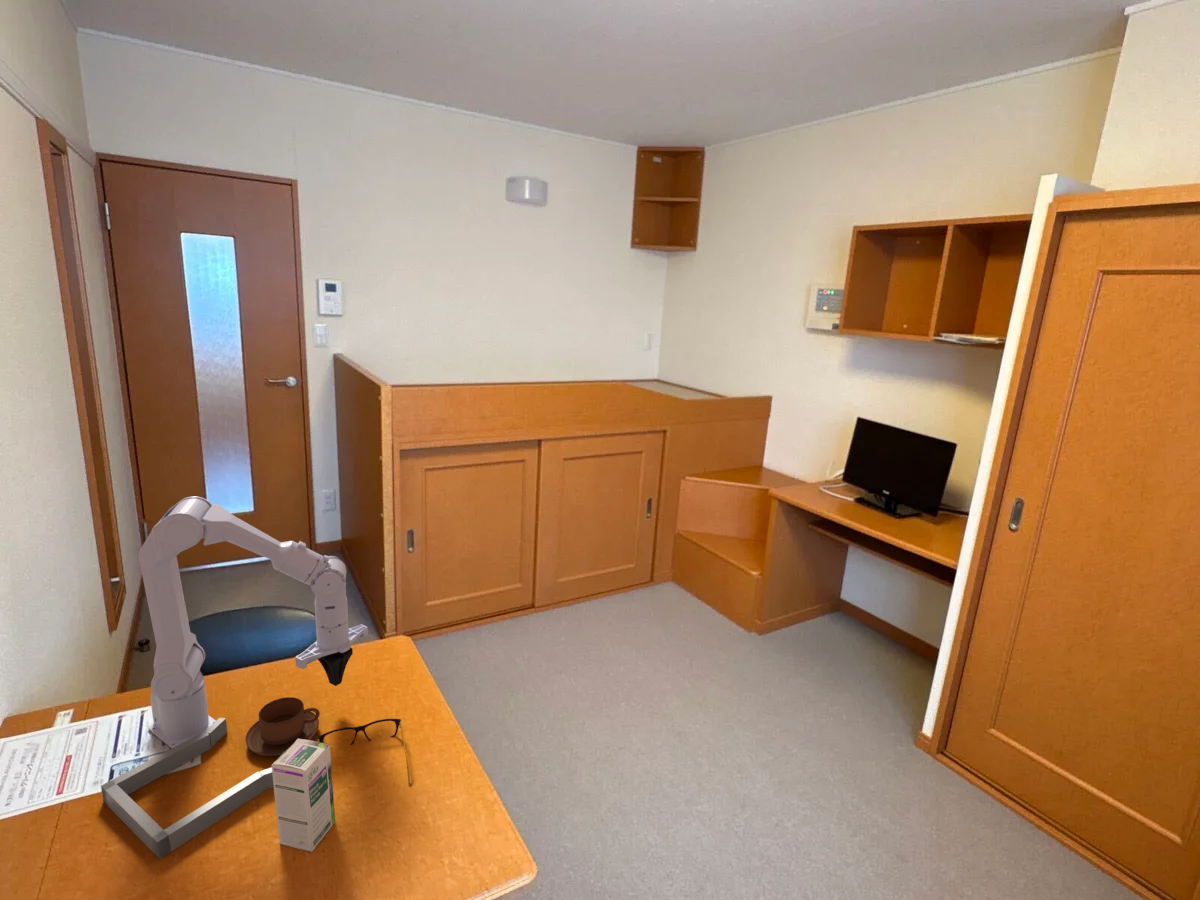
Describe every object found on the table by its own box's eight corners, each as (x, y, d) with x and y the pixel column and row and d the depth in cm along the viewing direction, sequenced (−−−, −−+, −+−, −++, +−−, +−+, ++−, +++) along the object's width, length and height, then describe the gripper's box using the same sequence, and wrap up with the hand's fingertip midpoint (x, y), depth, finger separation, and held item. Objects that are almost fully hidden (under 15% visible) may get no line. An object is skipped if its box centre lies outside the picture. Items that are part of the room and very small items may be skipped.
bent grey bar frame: (99, 797, 98) (96, 781, 98) (224, 729, 115) (222, 716, 114) (164, 864, 88) (162, 847, 87) (292, 779, 104) (290, 765, 104)
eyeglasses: (400, 732, 117) (400, 714, 116) (410, 788, 105) (410, 768, 104) (318, 751, 112) (317, 732, 111) (318, 812, 99) (317, 791, 98)
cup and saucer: (305, 708, 122) (303, 681, 120) (329, 741, 114) (328, 712, 112) (237, 736, 114) (234, 707, 112) (258, 773, 105) (255, 742, 104)
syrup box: (312, 853, 91) (307, 771, 88) (277, 844, 92) (270, 762, 89) (336, 822, 97) (331, 743, 93) (302, 814, 98) (297, 736, 94)
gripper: (310, 644, 110) (314, 710, 114) (377, 612, 122) (379, 672, 126) (286, 631, 114) (291, 695, 117) (353, 601, 126) (356, 660, 129)
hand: (335, 682), depth 122 cm, fingers closed
